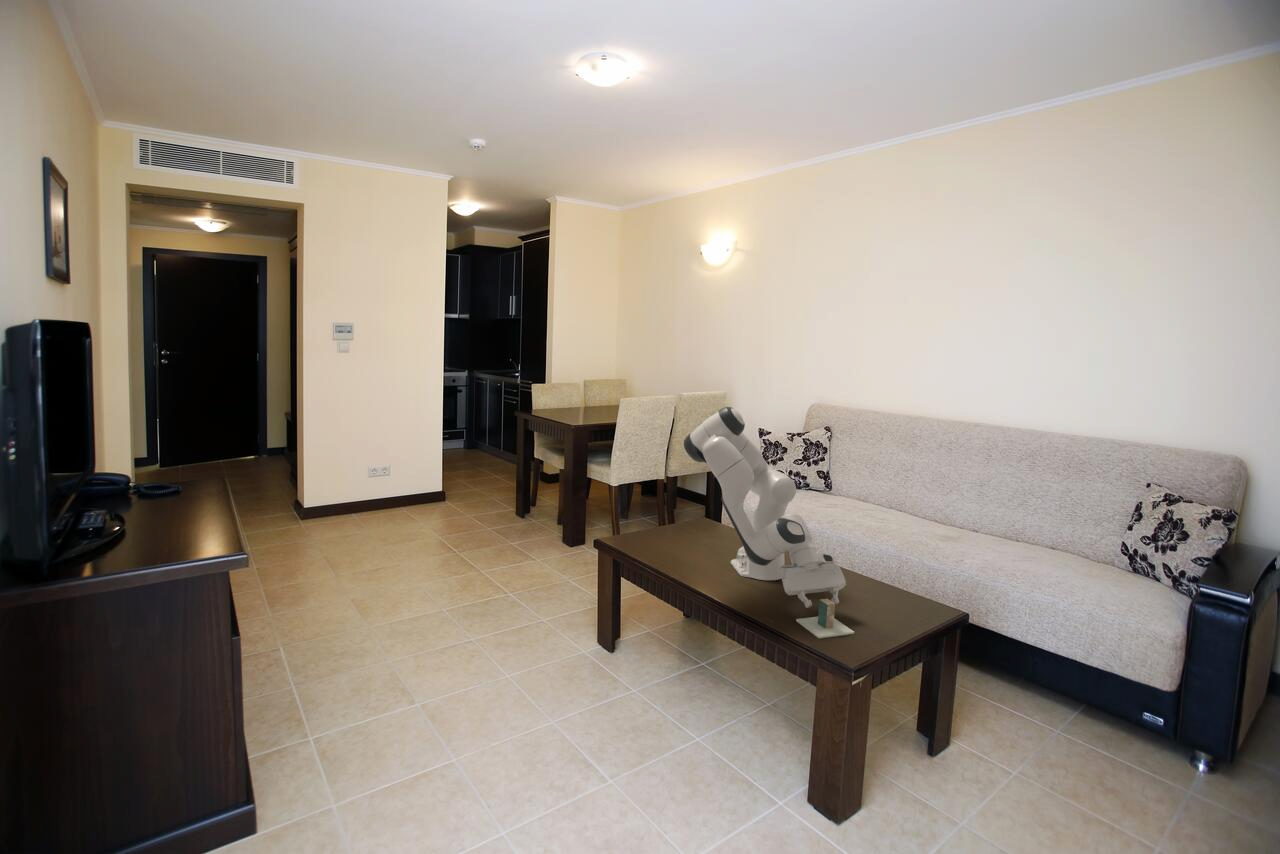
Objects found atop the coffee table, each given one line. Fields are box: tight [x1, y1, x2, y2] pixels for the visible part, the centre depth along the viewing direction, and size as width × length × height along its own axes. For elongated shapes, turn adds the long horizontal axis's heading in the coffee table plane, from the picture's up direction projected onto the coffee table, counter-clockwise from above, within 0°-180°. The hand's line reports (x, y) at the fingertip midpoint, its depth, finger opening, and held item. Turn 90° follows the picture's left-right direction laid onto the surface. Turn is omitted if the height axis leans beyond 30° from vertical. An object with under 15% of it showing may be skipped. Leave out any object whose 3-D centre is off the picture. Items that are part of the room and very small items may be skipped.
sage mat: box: [795, 616, 855, 639], centre depth 194 cm, size 12×12×1 cm
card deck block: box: [817, 598, 836, 629], centre depth 193 cm, size 3×4×8 cm
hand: (822, 605), depth 195 cm, fingers open, 8 cm apart
